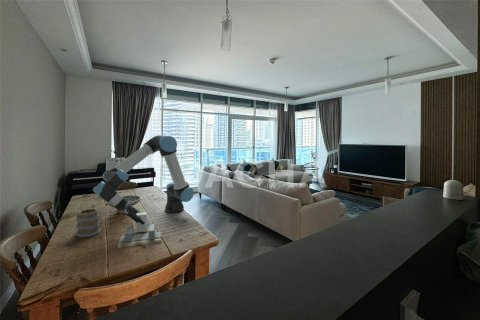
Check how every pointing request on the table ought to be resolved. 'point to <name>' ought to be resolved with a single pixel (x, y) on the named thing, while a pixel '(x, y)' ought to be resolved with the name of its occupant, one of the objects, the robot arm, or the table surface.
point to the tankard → (88, 222)
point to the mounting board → (140, 240)
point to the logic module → (138, 226)
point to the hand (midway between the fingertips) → (148, 224)
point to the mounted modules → (130, 233)
